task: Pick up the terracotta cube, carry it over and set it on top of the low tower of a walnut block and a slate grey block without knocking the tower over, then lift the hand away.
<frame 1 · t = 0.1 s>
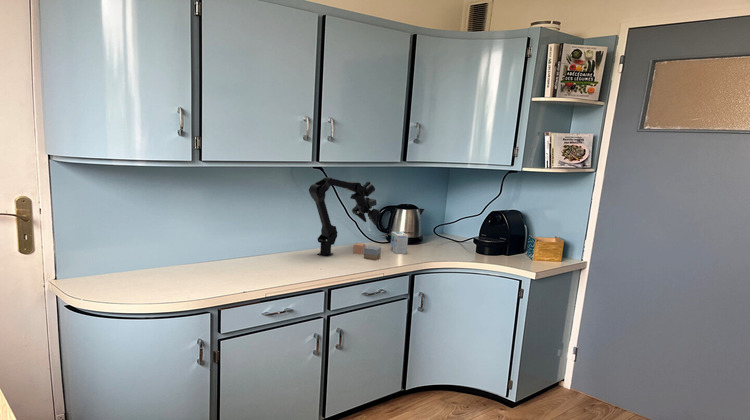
hand: (370, 223, 287), 15 cm above the counter, tool tilted 30°, fingers open, 9 cm apart
slate grey block: (372, 253, 268), point 3 cm above the counter
walnut block: (372, 258, 268), on the counter
terracotta cube: (359, 253, 277), on the counter
light bulb box: (398, 251, 286), on the counter
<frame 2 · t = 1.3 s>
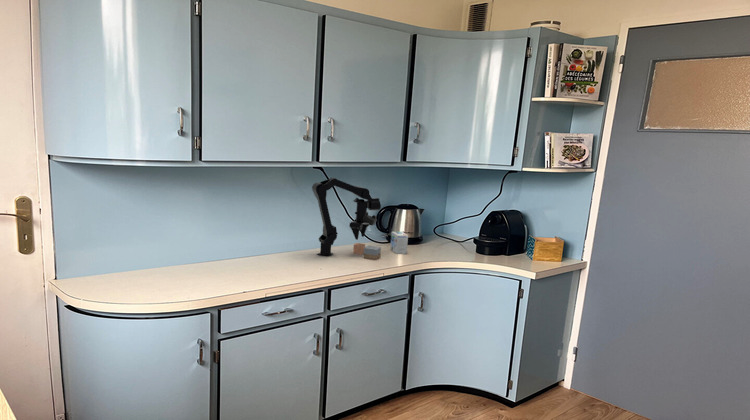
hand: (359, 238, 276), 8 cm above the counter, tool pointing down, fingers open, 9 cm apart
slate grey block: (372, 253, 268), point 3 cm above the counter, touching walnut block
walnut block: (372, 258, 268), on the counter, touching slate grey block
everything else where it was.
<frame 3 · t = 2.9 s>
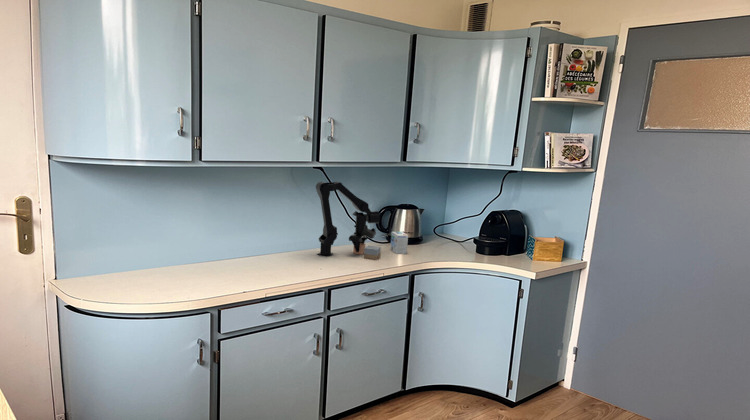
hand: (359, 251, 277), 1 cm above the counter, tool pointing down, fingers closed on terracotta cube, 5 cm apart
terracotta cube: (359, 252, 277), on the counter, touching gripper
everything else where it was.
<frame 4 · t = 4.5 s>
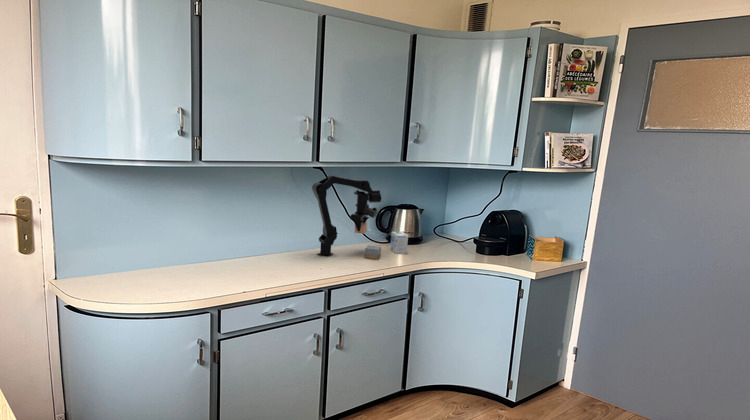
hand: (360, 230, 275), 13 cm above the counter, tool pointing down, fingers closed on terracotta cube, 5 cm apart
terracotta cube: (360, 232, 275), point 12 cm above the counter, touching gripper
everything else where it was.
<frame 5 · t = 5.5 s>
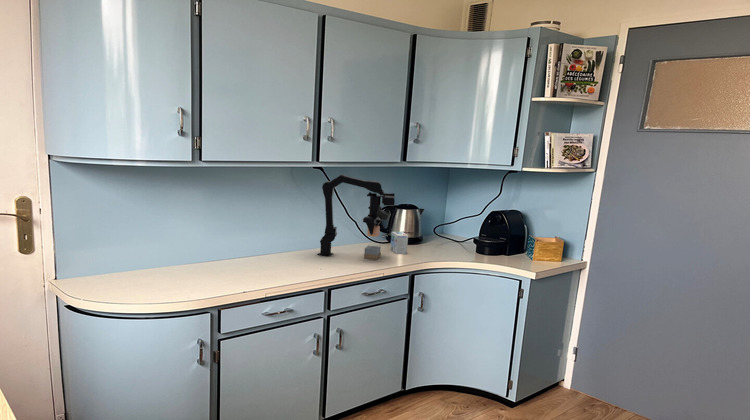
hand: (373, 233, 267), 13 cm above the counter, tool pointing down, fingers closed on terracotta cube, 5 cm apart
terracotta cube: (373, 235, 267), point 12 cm above the counter, touching gripper
everything else where it was.
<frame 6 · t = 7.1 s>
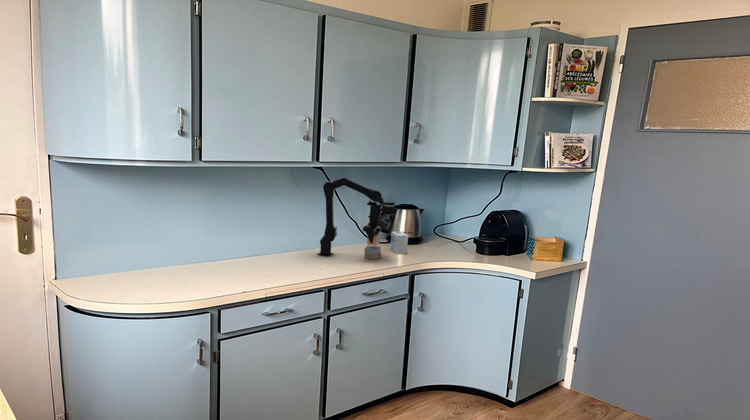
hand: (373, 242, 267), 8 cm above the counter, tool pointing down, fingers closed on terracotta cube, 5 cm apart
terracotta cube: (373, 244, 267), point 7 cm above the counter, touching gripper
everything else where it was.
when the fingers open (8 cm above the counter, at t = 7.4 s): terracotta cube drops 2 cm, point 6 cm above the counter.
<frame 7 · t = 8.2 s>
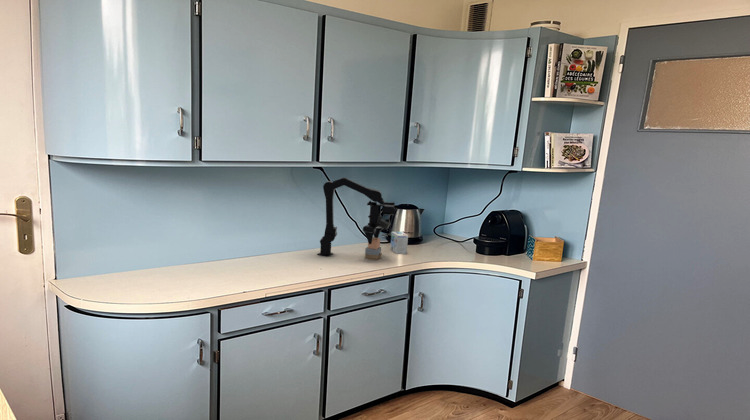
hand: (373, 242, 267), 8 cm above the counter, tool pointing down, fingers open, 9 cm apart
terracotta cube: (373, 247, 268), point 6 cm above the counter
everything else where it was.
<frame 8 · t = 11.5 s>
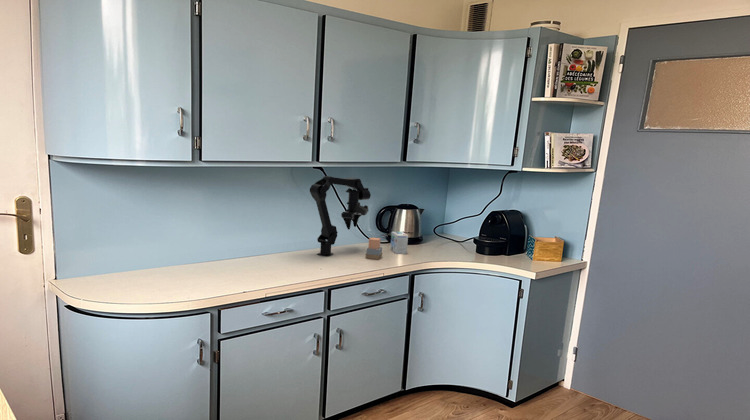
hand: (351, 228, 279), 13 cm above the counter, tool pointing down, fingers open, 9 cm apart
slate grey block: (374, 253, 268), point 3 cm above the counter, touching terracotta cube, walnut block
terracotta cube: (374, 247, 267), point 6 cm above the counter, touching slate grey block
everything else where it was.
at the end: terracotta cube 0.2 cm off-centre on the slate grey block, point 3.0 cm above the slate grey block's base; terracotta cube tilted 0°; slate grey block 0.1 cm off-centre on the walnut block, point 3.0 cm above the walnut block's base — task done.
